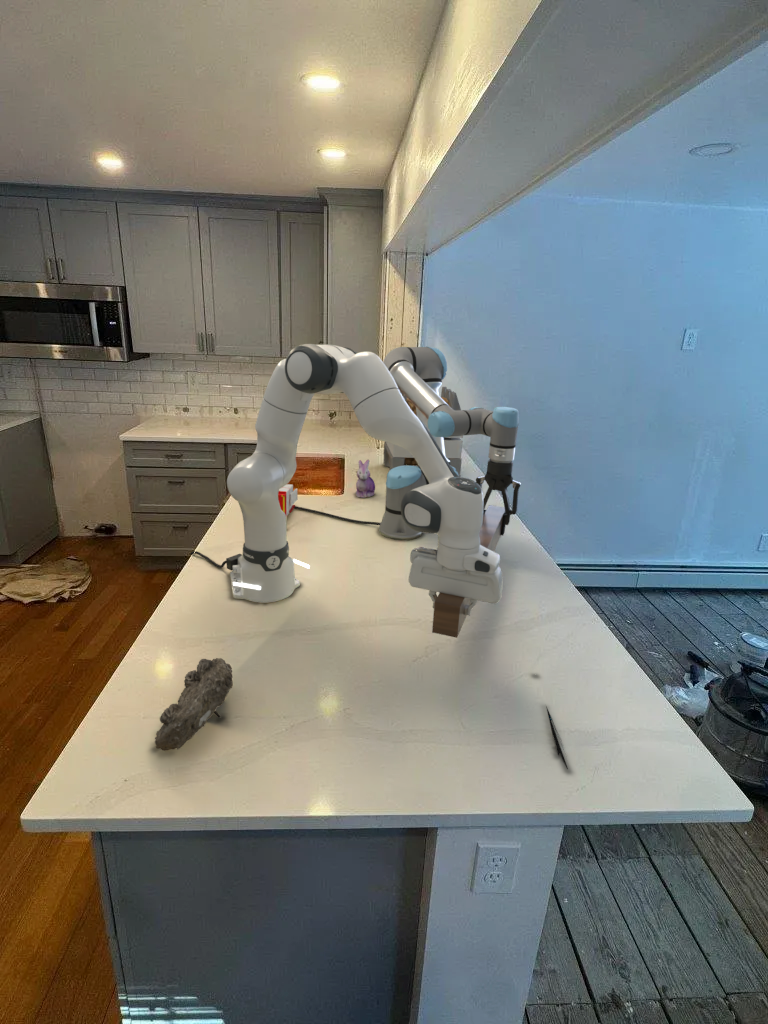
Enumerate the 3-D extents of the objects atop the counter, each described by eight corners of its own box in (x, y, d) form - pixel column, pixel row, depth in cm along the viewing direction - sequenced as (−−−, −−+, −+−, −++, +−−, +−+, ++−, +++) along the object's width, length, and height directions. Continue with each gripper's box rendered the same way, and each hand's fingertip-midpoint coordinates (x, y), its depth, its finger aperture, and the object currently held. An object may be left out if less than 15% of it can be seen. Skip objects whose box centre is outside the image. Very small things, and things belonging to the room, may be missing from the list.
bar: (486, 526, 183) (489, 504, 181) (503, 529, 182) (506, 507, 179) (432, 632, 121) (434, 601, 119) (457, 638, 120) (460, 607, 117)
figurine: (360, 499, 233) (361, 464, 228) (349, 492, 242) (350, 458, 237) (380, 497, 237) (381, 462, 232) (369, 490, 246) (370, 456, 241)
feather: (536, 679, 125) (541, 673, 125) (567, 774, 99) (575, 766, 98) (529, 675, 125) (535, 669, 124) (559, 769, 98) (567, 762, 98)
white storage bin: (382, 463, 289) (386, 382, 275) (445, 464, 293) (451, 384, 279) (390, 482, 257) (394, 392, 243) (460, 483, 261) (468, 394, 247)
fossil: (182, 659, 118) (233, 627, 113) (214, 689, 120) (265, 659, 115) (130, 744, 98) (189, 710, 93) (170, 778, 101) (229, 746, 96)
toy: (299, 479, 223) (289, 492, 194) (299, 512, 226) (289, 530, 197) (268, 478, 223) (253, 491, 193) (268, 512, 225) (254, 529, 196)
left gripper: (406, 550, 121) (403, 607, 125) (503, 568, 114) (495, 627, 119) (415, 540, 126) (411, 595, 131) (507, 556, 120) (500, 613, 125)
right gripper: (467, 458, 169) (460, 531, 177) (531, 467, 163) (521, 541, 171) (472, 453, 175) (465, 523, 183) (534, 461, 169) (524, 533, 177)
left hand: (452, 611), depth 125 cm, fingers closed on bar, 5 cm apart
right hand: (492, 532), depth 177 cm, fingers closed on bar, 6 cm apart
